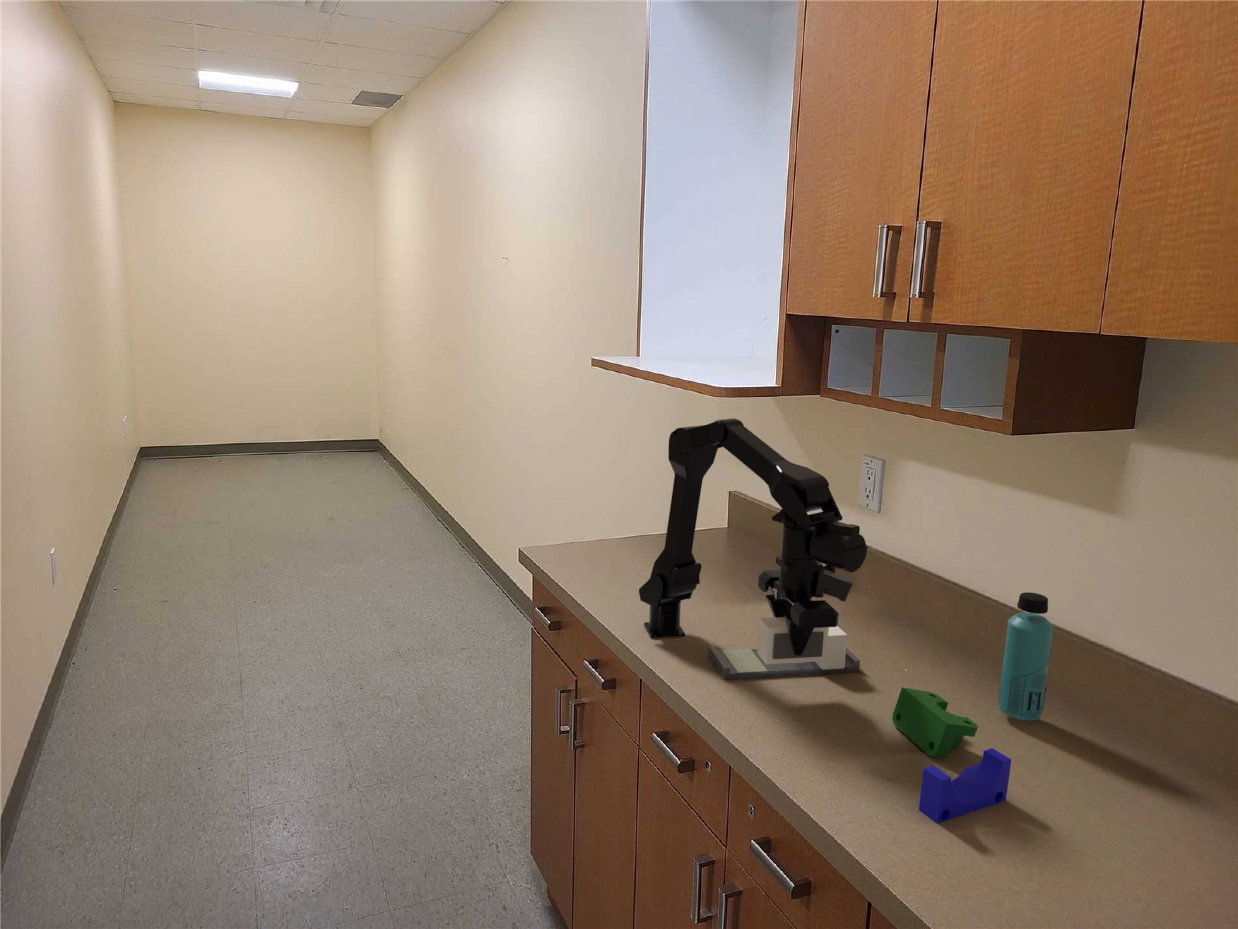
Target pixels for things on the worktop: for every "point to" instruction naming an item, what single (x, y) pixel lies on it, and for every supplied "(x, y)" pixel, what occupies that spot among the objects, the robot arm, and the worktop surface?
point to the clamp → (930, 722)
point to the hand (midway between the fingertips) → (792, 648)
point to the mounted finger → (835, 650)
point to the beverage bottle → (1026, 659)
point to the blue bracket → (965, 788)
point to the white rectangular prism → (788, 643)
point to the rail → (768, 665)
